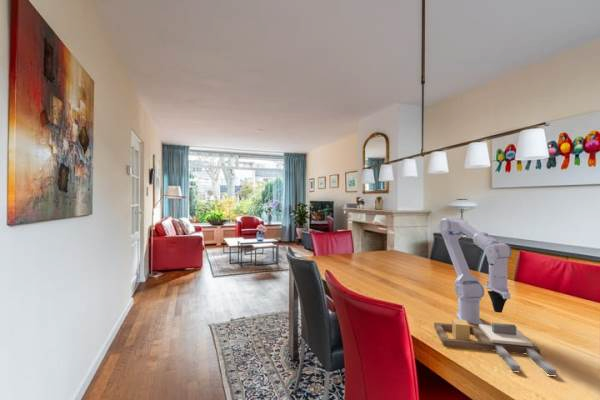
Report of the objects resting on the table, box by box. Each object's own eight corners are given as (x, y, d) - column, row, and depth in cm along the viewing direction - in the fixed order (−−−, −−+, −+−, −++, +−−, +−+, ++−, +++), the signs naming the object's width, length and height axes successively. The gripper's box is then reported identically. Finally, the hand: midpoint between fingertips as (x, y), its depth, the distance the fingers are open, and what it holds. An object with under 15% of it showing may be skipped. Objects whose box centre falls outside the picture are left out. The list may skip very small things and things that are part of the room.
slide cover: (478, 326, 109) (478, 316, 109) (514, 329, 107) (514, 319, 107) (492, 342, 98) (492, 330, 98) (532, 346, 95) (533, 334, 95)
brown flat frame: (434, 327, 114) (434, 322, 114) (518, 335, 107) (518, 329, 107) (453, 365, 89) (453, 358, 89) (564, 378, 82) (564, 371, 82)
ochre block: (452, 334, 108) (452, 318, 108) (465, 336, 107) (465, 320, 107) (455, 340, 104) (455, 324, 104) (469, 342, 103) (469, 325, 103)
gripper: (478, 269, 115) (478, 303, 115) (494, 280, 101) (494, 318, 101) (498, 270, 113) (498, 305, 113) (517, 281, 99) (517, 320, 99)
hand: (497, 311), depth 107 cm, fingers closed
